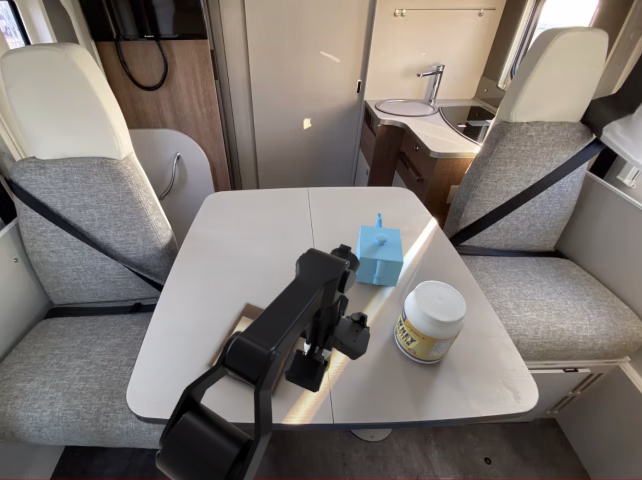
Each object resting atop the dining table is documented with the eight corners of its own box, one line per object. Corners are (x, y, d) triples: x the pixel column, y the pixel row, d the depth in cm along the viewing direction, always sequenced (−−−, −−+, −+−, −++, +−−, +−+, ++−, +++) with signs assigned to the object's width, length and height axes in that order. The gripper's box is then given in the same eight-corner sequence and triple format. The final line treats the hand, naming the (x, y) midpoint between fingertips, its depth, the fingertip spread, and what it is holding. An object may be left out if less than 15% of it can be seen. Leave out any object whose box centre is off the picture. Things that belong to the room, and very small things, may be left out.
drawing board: (271, 394, 67) (271, 392, 66) (209, 366, 72) (208, 363, 71) (301, 325, 79) (301, 322, 78) (247, 305, 84) (246, 302, 83)
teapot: (395, 298, 85) (406, 264, 76) (354, 293, 86) (360, 259, 78) (390, 243, 101) (399, 210, 92) (356, 239, 103) (361, 207, 94)
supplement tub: (384, 324, 79) (398, 282, 68) (427, 314, 81) (447, 271, 70) (409, 371, 70) (430, 331, 59) (457, 359, 72) (485, 318, 61)
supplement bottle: (316, 344, 66) (317, 319, 59) (335, 362, 63) (339, 338, 56) (298, 362, 63) (298, 338, 57) (318, 381, 60) (320, 358, 54)
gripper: (354, 385, 42) (343, 424, 52) (380, 284, 55) (368, 331, 65) (280, 354, 46) (283, 396, 56) (321, 266, 58) (318, 313, 69)
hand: (317, 356), depth 61 cm, fingers closed on supplement bottle, 5 cm apart
